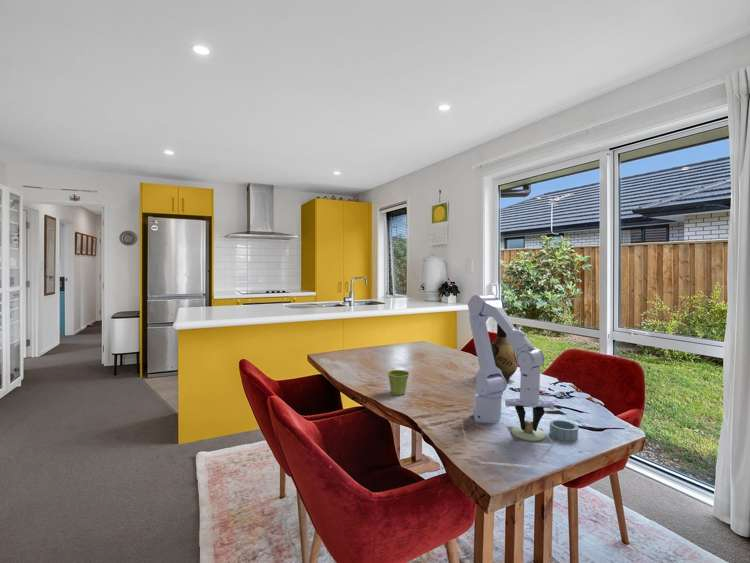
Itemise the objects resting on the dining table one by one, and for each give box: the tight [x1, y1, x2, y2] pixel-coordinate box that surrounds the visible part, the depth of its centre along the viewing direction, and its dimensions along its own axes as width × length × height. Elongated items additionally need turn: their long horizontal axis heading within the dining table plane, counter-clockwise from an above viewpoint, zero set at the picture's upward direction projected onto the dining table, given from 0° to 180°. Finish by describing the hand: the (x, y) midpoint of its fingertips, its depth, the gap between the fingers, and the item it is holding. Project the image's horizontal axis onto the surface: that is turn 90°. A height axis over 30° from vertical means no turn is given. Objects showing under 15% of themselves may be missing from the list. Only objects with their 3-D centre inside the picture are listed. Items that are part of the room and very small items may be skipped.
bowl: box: [548, 419, 579, 442], centre depth 128 cm, size 8×8×4 cm
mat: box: [506, 426, 552, 444], centre depth 129 cm, size 11×11×1 cm
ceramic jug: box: [488, 322, 519, 382], centre depth 194 cm, size 17×15×30 cm
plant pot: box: [386, 369, 411, 396], centre depth 170 cm, size 9×9×9 cm
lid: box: [512, 419, 546, 441], centre depth 129 cm, size 10×10×4 cm
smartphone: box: [544, 408, 586, 427], centre depth 145 cm, size 7×15×1 cm, turn 12°
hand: (528, 429), depth 129 cm, fingers open, 3 cm apart
